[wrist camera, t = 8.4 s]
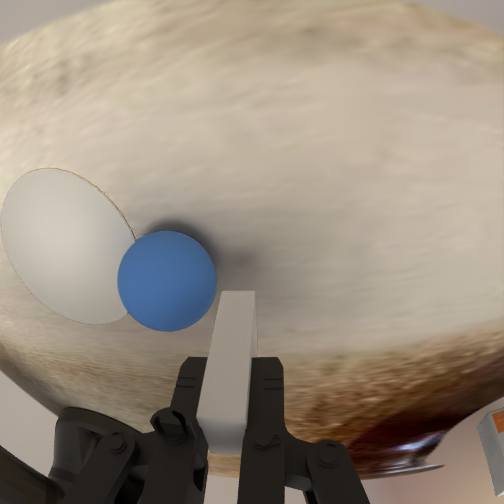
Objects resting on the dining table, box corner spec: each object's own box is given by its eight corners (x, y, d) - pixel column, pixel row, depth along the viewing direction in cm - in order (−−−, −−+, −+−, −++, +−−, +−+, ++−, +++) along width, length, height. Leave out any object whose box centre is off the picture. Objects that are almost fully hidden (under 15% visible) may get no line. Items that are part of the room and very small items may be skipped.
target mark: (79, 340, 25) (78, 341, 25) (-16, 231, 20) (-17, 232, 20) (181, 284, 21) (180, 286, 21) (56, 127, 16) (54, 128, 16)
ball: (229, 322, 19) (154, 309, 21) (233, 231, 19) (154, 227, 20) (186, 356, 14) (99, 332, 16) (187, 235, 14) (96, 230, 15)
